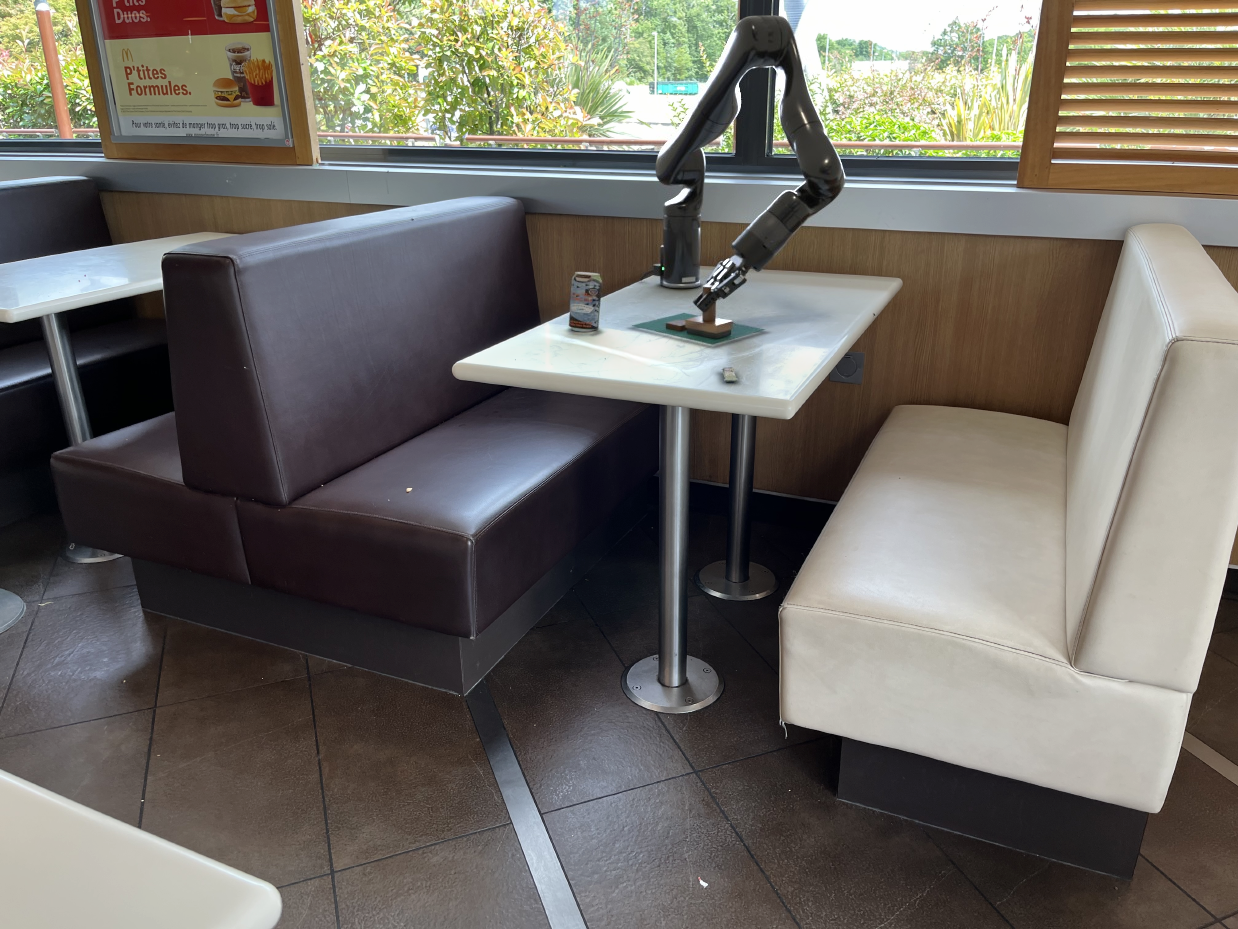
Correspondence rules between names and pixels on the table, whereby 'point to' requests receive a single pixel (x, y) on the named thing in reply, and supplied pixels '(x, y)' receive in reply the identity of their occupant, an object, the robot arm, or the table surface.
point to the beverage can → (585, 301)
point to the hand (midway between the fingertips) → (698, 307)
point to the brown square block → (676, 325)
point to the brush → (709, 322)
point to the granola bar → (729, 374)
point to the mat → (660, 327)
